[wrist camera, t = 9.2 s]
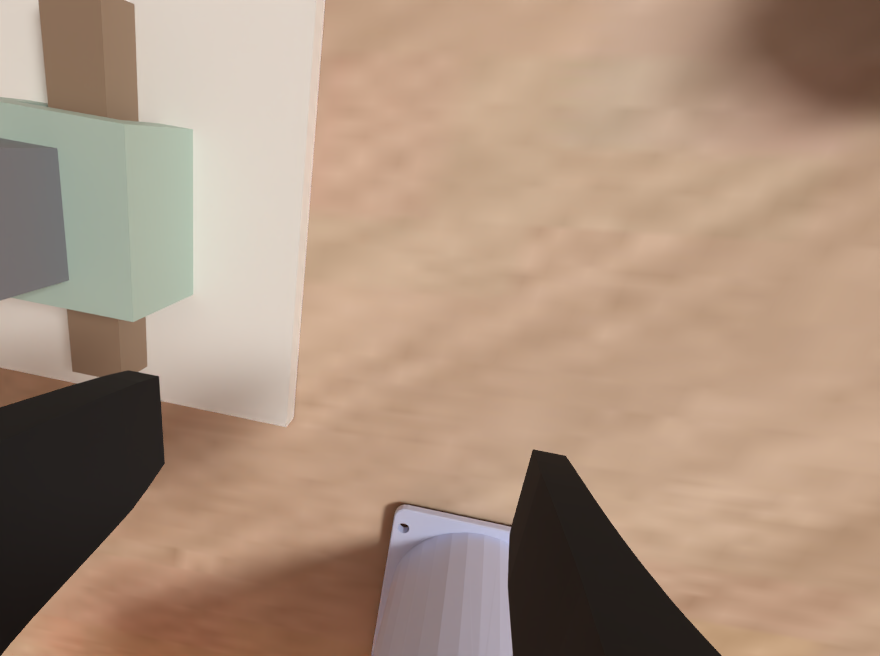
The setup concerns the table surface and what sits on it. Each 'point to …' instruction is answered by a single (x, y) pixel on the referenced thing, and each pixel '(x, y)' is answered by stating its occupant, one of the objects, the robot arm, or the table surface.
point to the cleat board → (214, 186)
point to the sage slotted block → (94, 211)
